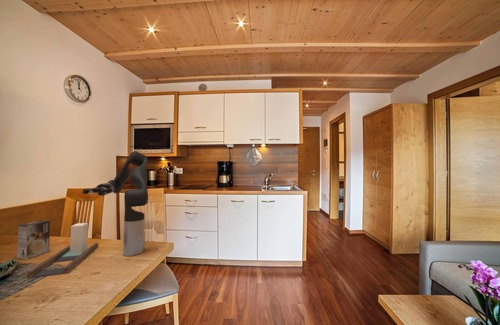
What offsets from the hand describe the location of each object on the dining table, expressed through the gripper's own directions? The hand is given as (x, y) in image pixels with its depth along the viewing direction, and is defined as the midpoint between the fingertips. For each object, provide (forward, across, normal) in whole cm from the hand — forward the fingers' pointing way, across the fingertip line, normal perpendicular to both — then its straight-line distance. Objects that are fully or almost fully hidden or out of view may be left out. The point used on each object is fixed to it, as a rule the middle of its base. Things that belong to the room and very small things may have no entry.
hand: (93, 192), depth 111 cm
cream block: (+11, -1, +30) cm, 31 cm away
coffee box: (+8, -21, +30) cm, 38 cm away
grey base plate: (+24, -1, +30) cm, 39 cm away
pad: (+11, -1, +30) cm, 32 cm away
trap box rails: (+19, -1, +30) cm, 36 cm away
